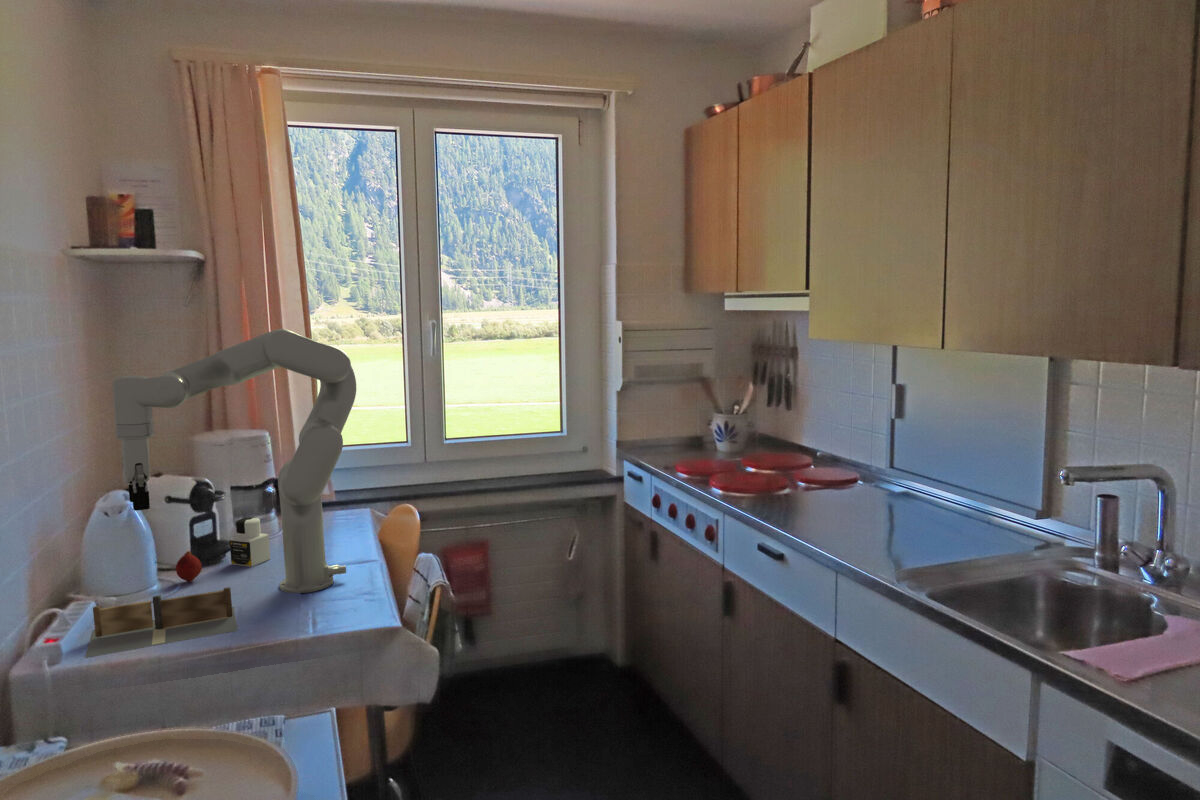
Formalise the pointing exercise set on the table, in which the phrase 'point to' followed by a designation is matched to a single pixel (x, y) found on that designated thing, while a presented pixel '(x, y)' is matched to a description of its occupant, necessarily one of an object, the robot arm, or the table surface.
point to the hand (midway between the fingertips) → (139, 505)
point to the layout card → (158, 636)
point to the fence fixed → (192, 608)
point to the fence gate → (122, 618)
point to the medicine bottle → (249, 543)
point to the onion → (188, 567)
